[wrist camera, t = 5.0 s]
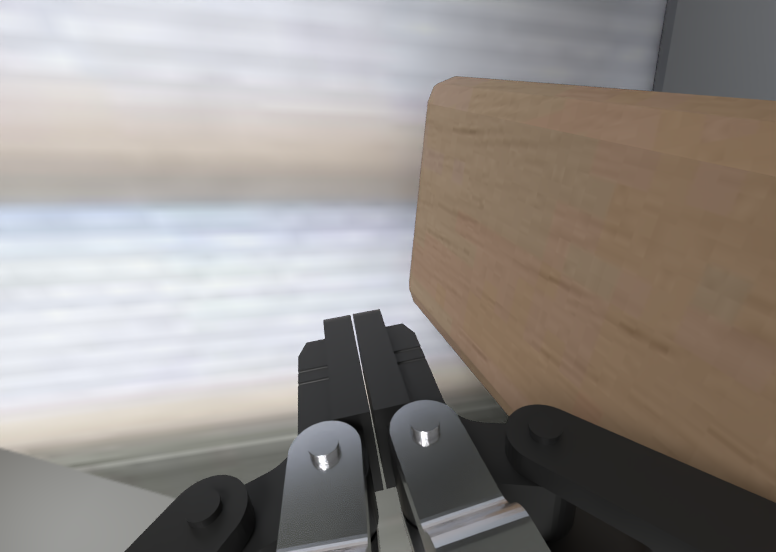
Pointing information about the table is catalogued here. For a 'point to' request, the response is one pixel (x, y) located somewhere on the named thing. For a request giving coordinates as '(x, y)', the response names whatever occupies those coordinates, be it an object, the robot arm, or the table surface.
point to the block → (609, 260)
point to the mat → (718, 49)
